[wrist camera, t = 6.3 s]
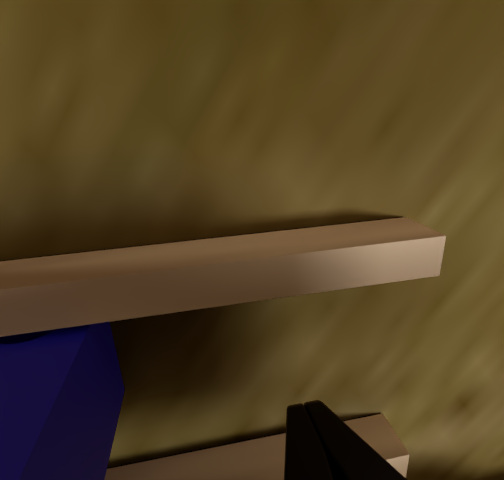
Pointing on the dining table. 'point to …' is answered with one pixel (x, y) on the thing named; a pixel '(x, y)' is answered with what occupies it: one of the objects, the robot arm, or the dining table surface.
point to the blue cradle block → (58, 403)
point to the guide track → (219, 294)
